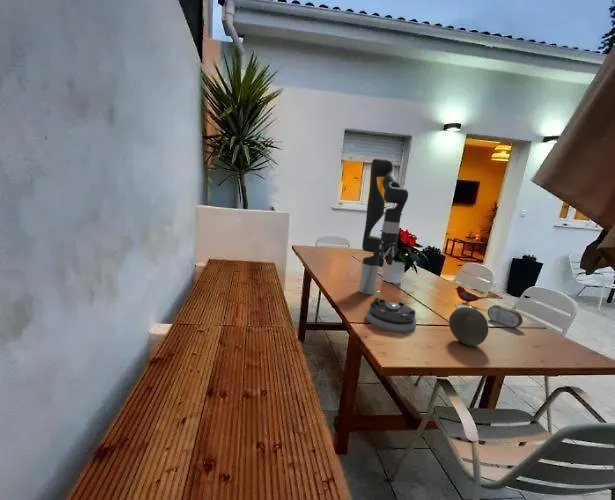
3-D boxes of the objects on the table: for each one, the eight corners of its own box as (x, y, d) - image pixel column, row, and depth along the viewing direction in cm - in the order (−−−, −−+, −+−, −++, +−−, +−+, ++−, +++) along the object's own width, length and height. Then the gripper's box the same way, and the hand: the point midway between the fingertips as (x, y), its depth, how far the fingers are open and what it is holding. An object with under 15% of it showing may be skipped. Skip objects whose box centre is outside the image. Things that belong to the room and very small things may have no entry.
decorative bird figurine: (451, 300, 182) (455, 284, 180) (485, 307, 176) (489, 290, 174) (452, 302, 179) (455, 285, 177) (486, 308, 173) (490, 291, 172)
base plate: (381, 308, 156) (382, 303, 156) (423, 324, 142) (424, 318, 141) (357, 318, 140) (357, 312, 140) (401, 337, 126) (402, 330, 125)
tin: (520, 329, 148) (524, 313, 146) (518, 331, 146) (522, 314, 144) (487, 317, 159) (491, 302, 158) (485, 318, 158) (488, 303, 156)
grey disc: (421, 317, 141) (424, 299, 140) (401, 328, 127) (405, 308, 125) (382, 303, 154) (385, 286, 153) (361, 312, 140) (363, 294, 138)
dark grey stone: (477, 339, 132) (484, 306, 129) (488, 355, 118) (497, 319, 116) (442, 332, 135) (449, 300, 132) (449, 347, 121) (457, 312, 118)
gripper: (390, 229, 149) (385, 262, 152) (375, 230, 139) (370, 265, 142) (404, 232, 144) (399, 265, 147) (390, 233, 134) (384, 269, 137)
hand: (384, 265), depth 145 cm, fingers open, 8 cm apart
